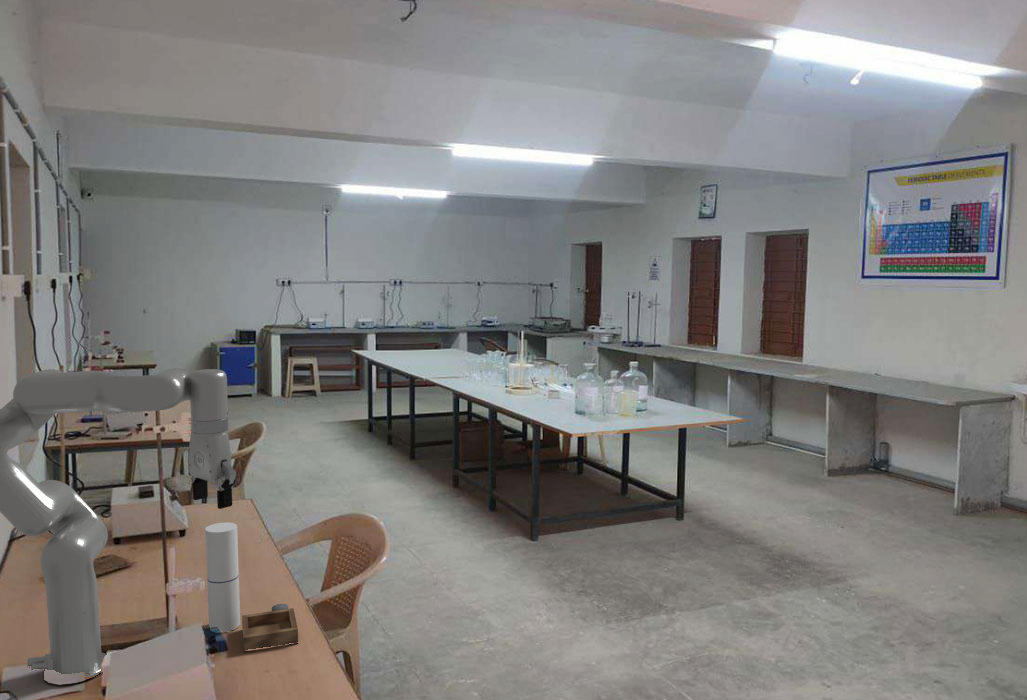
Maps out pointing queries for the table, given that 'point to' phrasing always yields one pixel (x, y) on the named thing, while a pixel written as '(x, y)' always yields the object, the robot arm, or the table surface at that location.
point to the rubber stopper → (279, 607)
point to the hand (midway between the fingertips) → (212, 502)
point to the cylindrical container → (223, 576)
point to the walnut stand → (269, 629)
